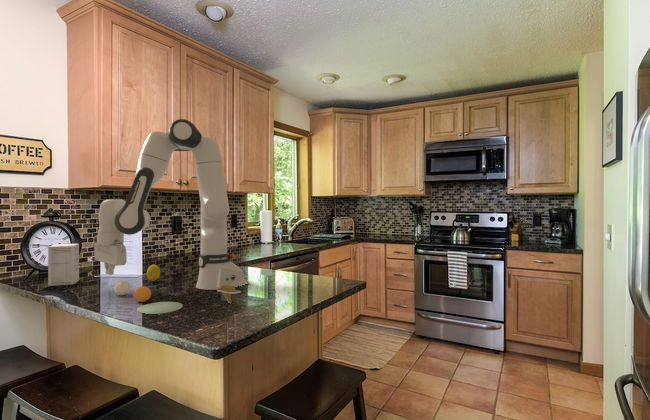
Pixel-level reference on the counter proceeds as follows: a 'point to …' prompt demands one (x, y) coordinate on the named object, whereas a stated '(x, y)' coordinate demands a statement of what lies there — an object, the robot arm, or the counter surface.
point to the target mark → (159, 307)
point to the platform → (228, 293)
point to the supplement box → (63, 264)
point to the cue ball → (122, 288)
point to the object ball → (142, 294)
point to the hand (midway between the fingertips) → (109, 274)
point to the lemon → (153, 272)
